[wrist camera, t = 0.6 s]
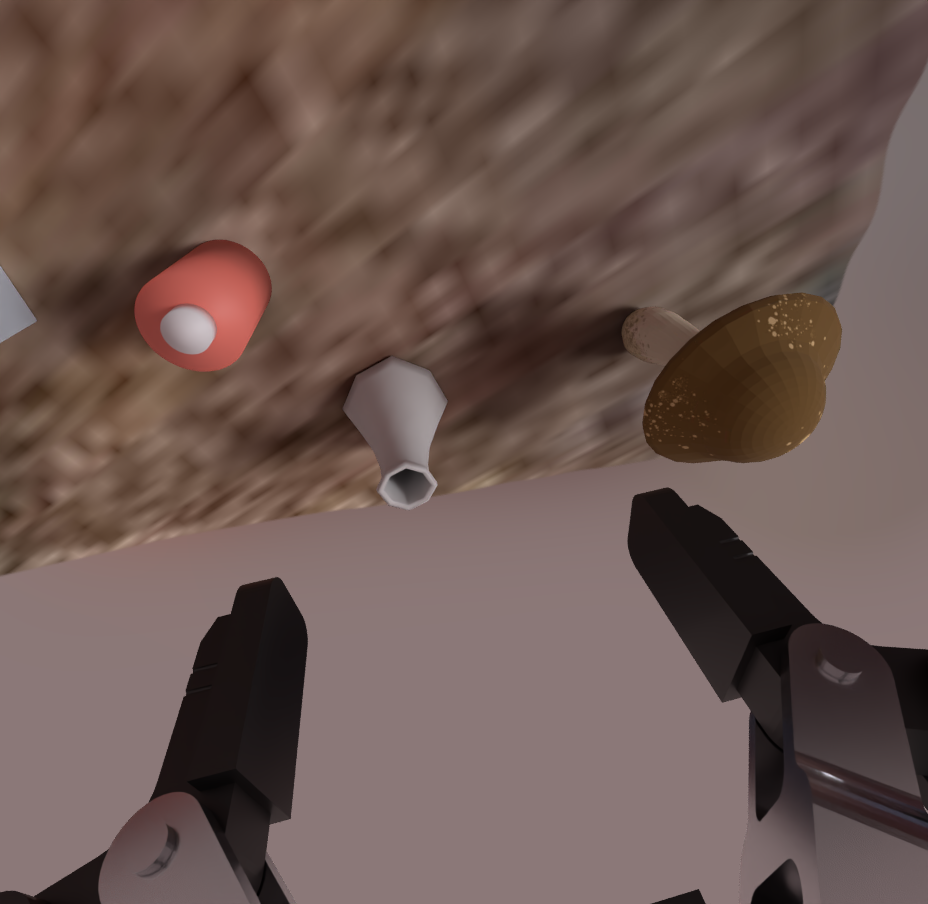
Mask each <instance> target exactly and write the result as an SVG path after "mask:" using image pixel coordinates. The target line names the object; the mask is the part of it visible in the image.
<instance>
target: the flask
mask: <svg viewBox="0 0 928 904" xmlns="http://www.w3.org/2000/svg"><path fill="white" fill-rule="evenodd" d="M447 402H448V400H447V399H446V397H445V395H444V394H443V392H442V390H441V389H440V387H439V385H438V384H437V382H436V380H435V379H434V377H433V375H432V373H431V372H430V370H427V369H425V368H422V367H420V366H417V365H414V364H412V363H409V362H407V361H404V360H402V359H399V358H397V357H394V356H391V357H389V358H387V359H385V360H383V361H382V362H380V363H378V364H376V365H374V366H372V367H371V368H369V369H367V370H365V371H363V372H361V373H360V374H358V375H356V377H355V380H354V382H353V384H352V387H351V389H350V392H349V394H348V397H347V399H346V402H345V404H344V406H343V411H344V412H345V413H346V415H347V416H348V417H349V419H350V420H351V421H352V423H353V424H354V425H355V426H356V428H357V429H358V430H359V432H360V433H361V434H362V436H363V437H364V438H365V440H366V441H367V443H368V444H369V446H370V447H371V448H372V450H373V451H374V453H375V455H376V458H377V461H378V463H379V466H380V468H381V476H382V478H381V480H380V482H379V484H378V486H377V492H378V493H379V494H380V496H381V497H382V498H383V499H384V500H385V502H386V503H387V504H388V505H389V506H393V507H397V508H401V509H405V510H411V509H413V508H415V507H417V506H419V505H421V504H423V503H425V502H427V501H428V500H429V499H430V497H431V495H432V493H433V492H434V490H435V488H436V486H437V482H436V480H435V479H434V477H433V476H432V475H431V473H430V472H429V468H428V458H429V448H430V445H431V442H432V439H433V436H434V434H435V431H436V428H437V425H438V423H439V421H440V418H441V416H442V414H443V412H444V409H445V407H446V404H447Z"/></svg>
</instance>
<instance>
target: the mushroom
mask: <svg viewBox="0 0 928 904" xmlns="http://www.w3.org/2000/svg"><path fill="white" fill-rule="evenodd" d="M621 334H622V339H623V343H624V347H625V348H626V349H627V350H628V352H629V353H630V354H632V355H634V356H635V357H637V358H639V359H641V360H643V361H645V362H648V363H653V364H659V365H664V366H665V367H664V369H663V370H662V372H661V373H660V374H659V376H658V377H657V379H656V380H655V382H654V384H653V387H652V389H651V391H650V393H649V396H648V398H647V400H646V403H645V408H644V415H643V430H644V434H645V438H646V442H647V443H648V445H649V446H650V447H651V448H652V449H653V450H654V451H655V453H657V454H659V455H661V456H664V457H666V458H668V459H671V460H673V461H676V462H686V463H701V462H711V461H720V460H725V461H732V462H737V463H738V462H739V463H749V462H761V461H765V460H769V459H772V458H776V457H779V456H781V455H783V454H785V453H787V452H789V451H791V450H792V449H794V448H795V447H797V446H798V445H800V444H801V443H802V442H803V441H804V440H806V439H807V438H808V436H809V435H810V434H811V433H812V432H813V431H814V429H815V428H816V426H817V424H818V422H819V421H820V419H821V417H822V414H823V410H824V407H825V403H826V402H825V401H826V385H825V380H826V378H827V376H828V375H829V373H830V371H831V370H832V367H833V365H834V362H835V360H836V358H837V354H838V352H839V350H840V344H841V334H842V328H841V324H840V321H839V318H838V316H837V313H836V310H835V308H834V307H833V306H832V305H831V304H830V303H828V302H827V301H826V300H825V299H824V298H822V297H820V296H815V295H811V294H806V293H793V294H784V295H774V296H769V297H766V298H764V299H761V300H758V301H755V302H752V303H749V304H746V305H743V306H741V307H739V308H737V309H735V310H733V311H731V312H729V313H728V314H726V315H724V316H722V317H720V318H718V319H717V320H715V321H713V322H712V323H710V324H709V325H708V326H707V327H705V328H704V329H703V330H701V331H699V330H698V329H697V328H695V327H694V326H693V325H691V324H690V323H689V322H687V321H686V320H684V319H683V318H681V317H680V316H679V315H677V314H676V313H673V312H671V311H668V310H666V309H663V308H661V307H646V308H641V309H637V310H636V311H634V312H632V313H631V314H630V315H629V316H628V317H627V318H626V320H625V321H624V323H623V327H622V332H621Z"/></svg>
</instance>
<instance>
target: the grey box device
mask: <svg viewBox="0 0 928 904" xmlns="http://www.w3.org/2000/svg"><path fill="white" fill-rule="evenodd" d="M36 321H37V320H36V318H35V317H34V315H33V314H32V312H31V311H30V309H29V308H28V306H27V305H26V303H25V302H24V300H23V299H22V297H21V296H20V294H19V293H18V291H17V290H16V288H15V287H14V285H13V284H12V283H11V281H10V280H9V278H8V277H7V275H6V274H5V272H4V271H3V269H2V268H1V266H0V343H1V342H3V341H4V340H6V339H8V338H9V337H11V336H13V335H15V334H16V333H18V332H20V331H21V330H23V329H25V328H26V327H28V326H30V325H31V324H33V323H35V322H36Z"/></svg>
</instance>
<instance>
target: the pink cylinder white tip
mask: <svg viewBox="0 0 928 904" xmlns="http://www.w3.org/2000/svg"><path fill="white" fill-rule="evenodd" d="M271 292H272V286H271V280H270V276H269V274H268V271H267V269H266V268H265V266H264V264H263V263H262V261H261V260H260V259H259V258H258V257H257V256H256V255H255V254H254V253H253V252H252V251H250V250H249V249H247V248H246V247H244V246H242V245H240V244H238V243H235V242H232V241H227V240H211V241H207V242H205V243H202V244H201V245H199V246H198V247H196V248H195V249H193V250H192V251H191V252H189V253H188V254H186V255H185V256H184V257H182V258H181V259H179V260H178V261H177V262H175V263H174V264H172V265H171V266H170V267H168V268H167V269H165V270H164V271H163V272H161V273H160V274H159V275H157V276H156V277H154V278H153V279H152V280H150V281H149V282H148V283H146V284H145V285H144V286H143V288H142V289H141V290H140V292H139V294H138V295H137V298H136V301H135V307H134V312H135V320H136V323H137V327H138V329H139V331H140V333H141V335H142V337H143V338H144V340H145V341H146V342H147V344H148V345H149V346H150V347H151V348H152V349H153V350H154V351H155V352H156V353H157V354H159V355H160V356H161V357H163V358H164V359H166V360H167V361H169V362H171V363H173V364H175V365H177V366H179V367H182V368H185V369H189V370H194V371H215V370H219V369H222V368H225V367H227V366H229V365H231V364H232V363H234V362H235V361H236V360H237V359H238V358H239V357H240V356H241V354H242V353H243V351H244V349H245V347H246V345H247V343H248V341H249V339H250V337H251V336H252V334H253V332H254V330H255V328H256V326H257V324H258V322H259V320H260V318H261V316H262V314H263V313H264V311H265V309H266V307H267V305H268V303H269V301H270V297H271Z"/></svg>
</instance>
